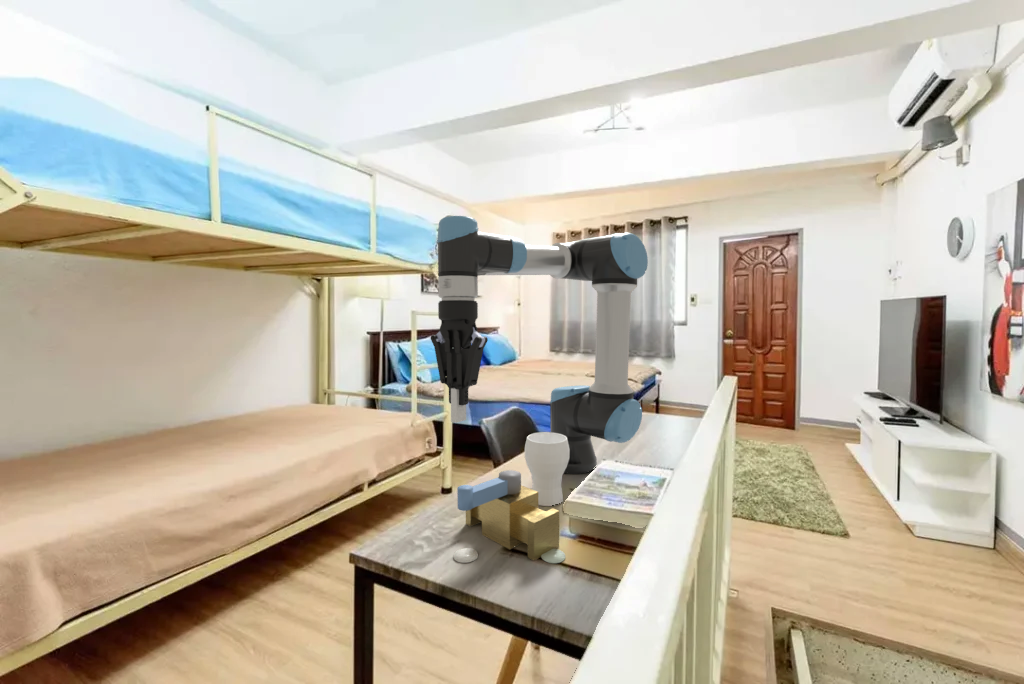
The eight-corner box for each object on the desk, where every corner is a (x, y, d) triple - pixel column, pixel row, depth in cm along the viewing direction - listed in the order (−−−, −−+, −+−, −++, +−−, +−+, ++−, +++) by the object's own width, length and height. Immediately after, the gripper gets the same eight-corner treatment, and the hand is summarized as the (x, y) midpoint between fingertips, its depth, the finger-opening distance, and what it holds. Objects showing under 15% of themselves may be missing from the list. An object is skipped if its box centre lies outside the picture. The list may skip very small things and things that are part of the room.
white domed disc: (467, 547, 85) (467, 545, 85) (482, 556, 82) (482, 554, 82) (448, 556, 82) (448, 554, 82) (463, 565, 79) (463, 564, 79)
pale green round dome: (551, 547, 85) (551, 546, 85) (570, 556, 82) (570, 555, 82) (536, 556, 82) (536, 554, 82) (554, 566, 78) (554, 564, 78)
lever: (510, 483, 92) (510, 466, 92) (525, 490, 89) (525, 472, 89) (451, 505, 82) (451, 486, 81) (466, 513, 79) (466, 493, 78)
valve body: (463, 524, 94) (463, 483, 93) (492, 512, 99) (492, 474, 99) (532, 561, 80) (532, 514, 79) (560, 545, 85) (561, 500, 85)
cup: (567, 511, 100) (567, 445, 99) (520, 507, 102) (520, 442, 101) (570, 492, 111) (571, 432, 110) (528, 489, 113) (528, 430, 112)
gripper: (419, 299, 87) (421, 419, 88) (471, 298, 79) (471, 430, 81) (447, 300, 93) (447, 413, 94) (496, 299, 85) (496, 421, 87)
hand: (458, 420), depth 87 cm, fingers closed
